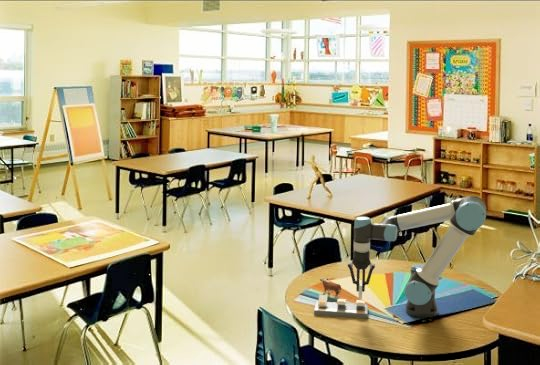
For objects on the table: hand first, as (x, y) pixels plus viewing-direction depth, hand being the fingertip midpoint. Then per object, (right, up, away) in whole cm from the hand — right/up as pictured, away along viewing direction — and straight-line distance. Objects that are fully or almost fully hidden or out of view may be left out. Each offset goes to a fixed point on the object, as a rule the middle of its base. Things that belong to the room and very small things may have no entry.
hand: (360, 297), depth 279 cm
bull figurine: (-12, -4, +26) cm, 28 cm away
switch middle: (-8, -3, +5) cm, 10 cm away
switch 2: (+1, -3, +3) cm, 5 cm away
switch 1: (-17, -3, +7) cm, 19 cm away
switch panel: (-8, -8, +5) cm, 12 cm away
